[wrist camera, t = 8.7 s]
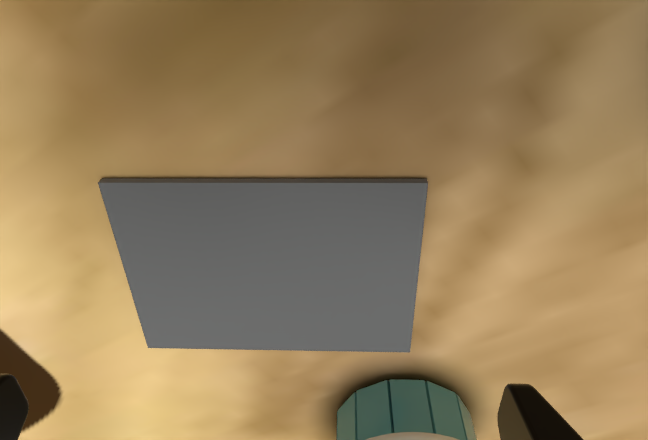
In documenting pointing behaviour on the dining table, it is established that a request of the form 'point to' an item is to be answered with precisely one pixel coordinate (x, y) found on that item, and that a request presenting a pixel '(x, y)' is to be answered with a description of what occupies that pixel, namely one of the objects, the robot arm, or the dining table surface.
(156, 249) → the mat
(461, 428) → the bowl
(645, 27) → the dining table surface
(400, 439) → the lid
